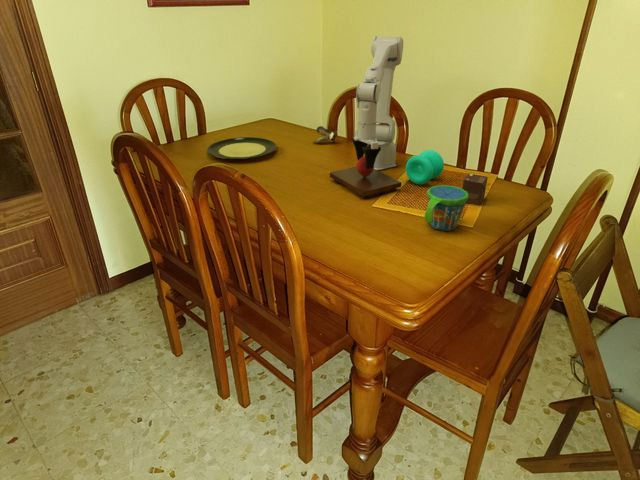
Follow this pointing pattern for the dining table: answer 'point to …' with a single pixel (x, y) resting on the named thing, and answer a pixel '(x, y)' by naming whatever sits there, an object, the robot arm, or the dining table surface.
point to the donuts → (424, 167)
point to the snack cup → (445, 206)
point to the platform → (365, 182)
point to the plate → (241, 148)
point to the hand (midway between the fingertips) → (365, 164)
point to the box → (475, 188)
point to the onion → (363, 167)
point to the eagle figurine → (325, 134)
